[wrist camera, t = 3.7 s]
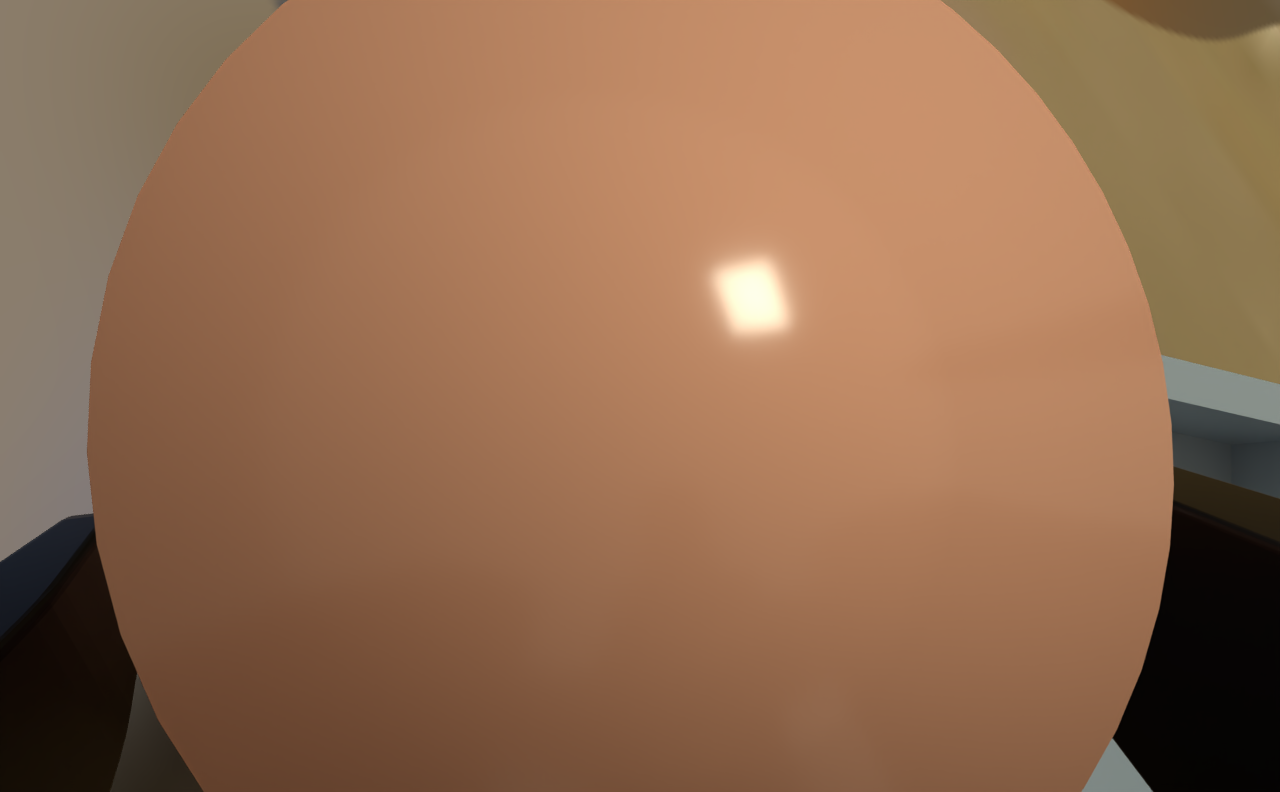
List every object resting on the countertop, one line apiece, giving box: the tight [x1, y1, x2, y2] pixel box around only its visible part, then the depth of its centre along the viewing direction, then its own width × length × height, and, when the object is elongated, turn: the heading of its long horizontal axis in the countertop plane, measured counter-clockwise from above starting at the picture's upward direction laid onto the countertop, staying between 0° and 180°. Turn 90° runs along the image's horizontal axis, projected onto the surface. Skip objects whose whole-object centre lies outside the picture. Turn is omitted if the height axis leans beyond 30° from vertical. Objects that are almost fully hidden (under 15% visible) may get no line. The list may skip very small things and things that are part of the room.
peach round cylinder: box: [87, 0, 1174, 792], centre depth 11 cm, size 7×7×13 cm
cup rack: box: [1081, 355, 1280, 792], centre depth 20 cm, size 14×22×4 cm, turn 81°
